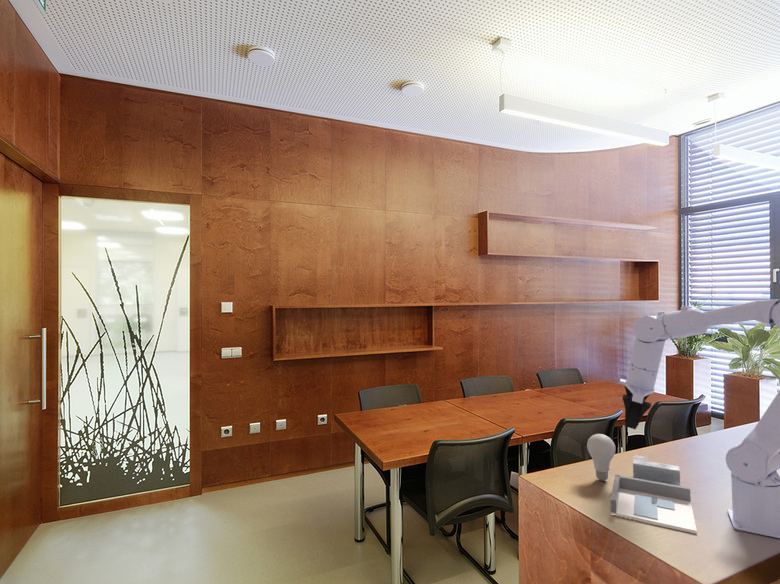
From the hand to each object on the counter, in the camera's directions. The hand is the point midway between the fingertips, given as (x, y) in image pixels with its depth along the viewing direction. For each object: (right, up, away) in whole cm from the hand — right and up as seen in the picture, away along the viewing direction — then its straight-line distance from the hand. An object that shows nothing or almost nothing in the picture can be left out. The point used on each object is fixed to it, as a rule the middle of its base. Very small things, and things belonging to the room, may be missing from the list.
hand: (630, 421), depth 99 cm
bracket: (+5, -14, -1) cm, 15 cm away
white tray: (-3, -14, -12) cm, 19 cm away
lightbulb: (-6, -15, +2) cm, 16 cm away
